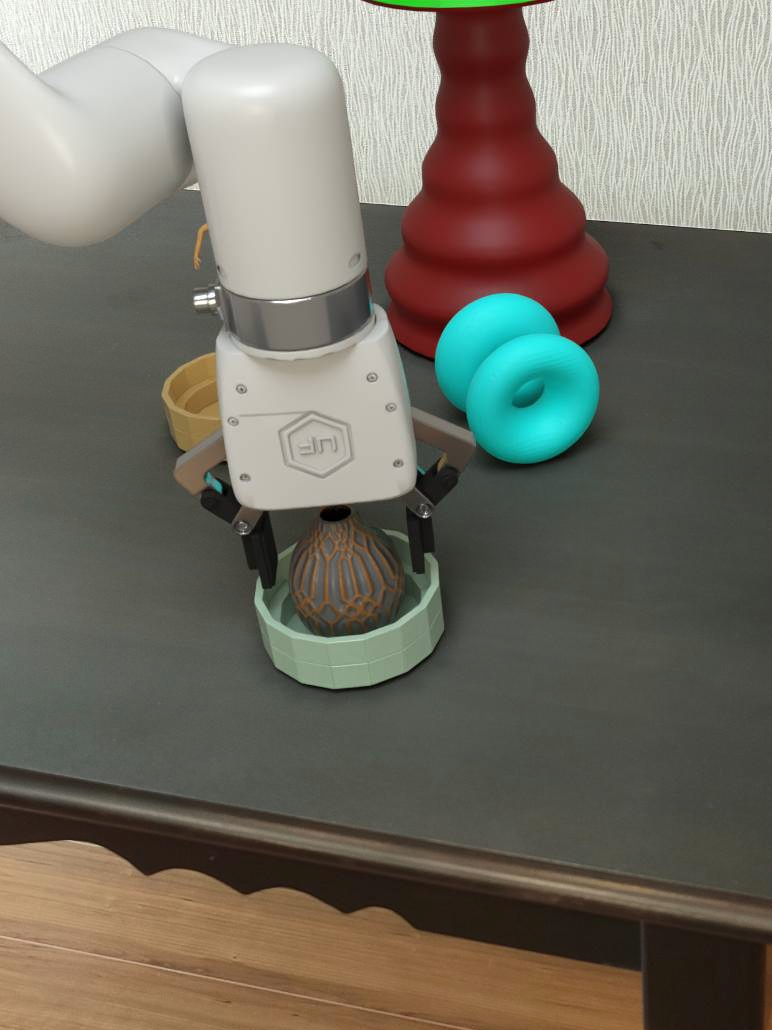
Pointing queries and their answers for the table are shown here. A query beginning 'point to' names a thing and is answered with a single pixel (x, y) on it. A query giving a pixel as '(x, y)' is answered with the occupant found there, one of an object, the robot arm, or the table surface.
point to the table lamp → (490, 191)
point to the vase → (345, 575)
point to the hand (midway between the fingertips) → (344, 566)
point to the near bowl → (356, 654)
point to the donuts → (516, 378)
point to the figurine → (199, 244)
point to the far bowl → (192, 401)
